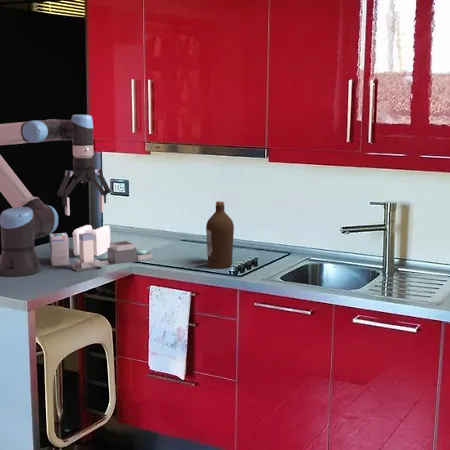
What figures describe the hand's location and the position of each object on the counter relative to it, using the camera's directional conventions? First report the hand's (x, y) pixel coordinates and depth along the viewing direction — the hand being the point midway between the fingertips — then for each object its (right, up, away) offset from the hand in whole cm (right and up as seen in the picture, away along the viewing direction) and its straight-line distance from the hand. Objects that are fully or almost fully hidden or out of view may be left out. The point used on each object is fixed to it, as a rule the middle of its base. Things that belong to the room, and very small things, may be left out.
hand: (84, 213), depth 261 cm
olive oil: (+51, -20, +8) cm, 55 cm away
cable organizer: (-2, -17, +27) cm, 32 cm away
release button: (+20, -16, +15) cm, 30 cm away
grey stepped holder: (+9, -20, +9) cm, 24 cm away
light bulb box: (-13, -19, +13) cm, 26 cm away
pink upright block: (0, -20, +3) cm, 20 cm away
